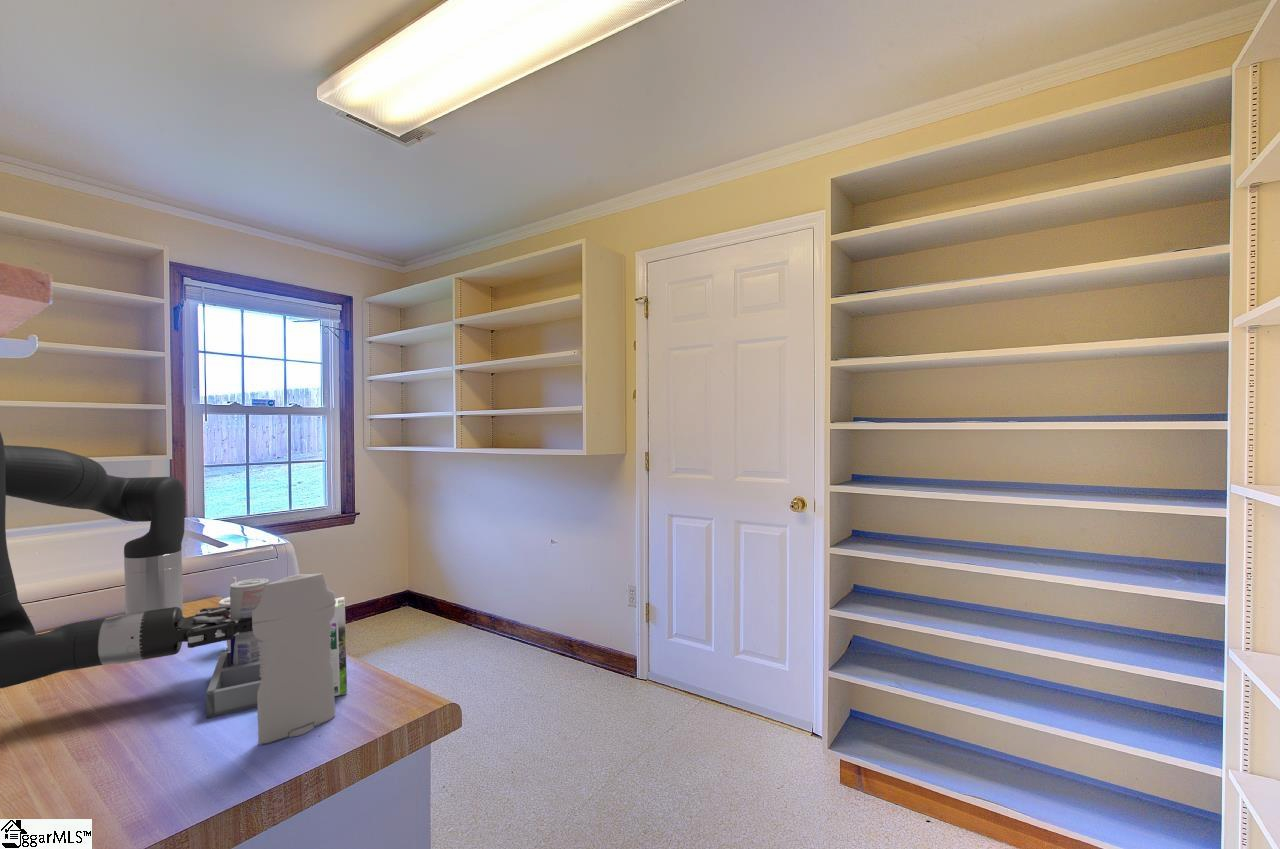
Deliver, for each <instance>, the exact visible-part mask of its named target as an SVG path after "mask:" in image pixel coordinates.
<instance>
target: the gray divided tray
mask: <svg viewBox="0 0 1280 849" xmlns="http://www.w3.org/2000/svg"><path fill="white" fill-rule="evenodd" d="M259 662H260V661H258V662H253V663H247V664H242V665H237V666H232V667H231V651H228V650H227V651H223V652H222V651H221V652H220V654H219V657H218V659H217V662H216V665H215V667H214V671H213V673H212V676H211V679H210V681H209V685H208V687H207V690H206V693H205V701H206V702H205V710H206V711H205V712H206V714H205V715H206V716H205V718H206V719H210V718H213V717H219V716H223V715H228V714H231V713H235V712H236V713H237V712H240V711H245V710H249V709H254V708H258V705H257V692H258V689H259V686H260V682H261V677H260V676H259V675H260V674H261V673H259V672H260V670H259V669H260V668H261V667H260V664H259Z"/></svg>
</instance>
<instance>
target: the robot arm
mask: <svg viewBox="0 0 1280 849" xmlns="http://www.w3.org/2000/svg"><path fill="white" fill-rule="evenodd" d="M7 497H13V498H18V499H22V500H27V501H31V502H36V503H41V504H45V505H51V506H54V507H55V506H56V507H61V508H62V507H63V508H70V509H79V510H89V511H90V510H91V511H95V512H97V513H101V514H104V515H106V516H109V517H112V518H115V519H118V520H121V521H125V522H132V523H133V522H134V523H137V522H150V526H149V531H148V532H146V533H145V534H144V535H143V536H140V537H138V538H135V539H132V540H129V541H127V542H126V543H125V544H124V547H123V557H124V558H123V560H124V561H123V564H124V565H123V567H124V600H125V602H124V603H125V610H124V611H125V613H123V614H120V615H116V616H115V615H114V616H110V617H106V618H105V617H104V618H96V619H91V620H90V619H89V620H83V621H77V622H72V623H68V624H64V625H61V626H58V627H57V628H55V629H53V630H50V631H47V632H43V633H37V634H36V630H35V627H34V626H33V625H34V624H33V623H32V621H31V619H30V617H29V616H28V614H27V612H26V610H25V608H24V607H23V605H22V604H21V602H20V600H19V598H18V590H17V585H16V581H15V576H14V574H13V573H14V572H13V568H12V564H11V561H10V556H9V550H8V544H7V534H6V532H7V531H6V507H7V506H6V505H7V504H6V500H7ZM185 518H186V490H185V487H184V485H183V483H182V481H180V479H178V478H176V477H173V476H148V477H145V476H144V477H122V476H115V475H111V474H107V471H106V469H105V468H104V467H103V466H102V465H101V464H100V463H99V462H97V461H96V460H93V459H92V458H89V457H86V456H83V455H81V454H76V453H73V452H70V451H66V450H63V449H58V448H50V447H41V446H38V447H37V446H30V445H28V446H26V445H11V444H10V445H9V444H8V445H6V444H4V439H3V436H2V432H0V689H4V688H5V689H6V688H9V687H10V688H11V687H12V686H17V685H21V684H24V683H28V682H32V681H36V680H39V679H41V678H46V677H48V676H52V675H54V674H57V673H63V672H65V671H66V672H67V671H75V670H82V669H86V668H94V667H98V666H100V667H101V666H105V665H119V664H127V663H133V662H137V661H145V660H152V659H156V658H162V657H169V656H174V655H177V654H178V653H179V652H180V651H181V648H182V645H183V642H184V643H185V642H187V648H189V649H192V648H198V647H201V646H207V645H211V644H215V643H220V642H224V641H226V640H231V639H233V638H234V636H236V635H239V634H240V632H241V633H242V632H248V631H253V629H252V617H248V618H241V619H230V617H229V615H230V606H227V607H209V608H208V607H207V608H201V609H199V612H196V613H195V615H191V616H187V617H184V596H183V594H184V593H183V562H182V561H183V558H182V557H183V556H182V555H183V554H182V546H183V545H182V542H183V539H184V535H185V521H186V520H185ZM226 642H227V641H226Z"/></svg>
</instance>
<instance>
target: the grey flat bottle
mask: <svg viewBox="0 0 1280 849" xmlns="http://www.w3.org/2000/svg"><path fill="white" fill-rule="evenodd" d="M327 584H328V583H327V581H326V577H325V573H324V572H322V573H321V572H320V573H319V572H318V573H309V574H308V573H306V574H305V573H301V574H299V573H298V574H294V575H288V576H286V577H284V578H281V579H278V580H276V581H273V582H268V584H265V585H264V587H263V593H262V597H261V600H260V604H259V605H258V606H257V607H256V608H255V609H254V610H253V611H252V629H253V635H254V636H255V637H256V638H258V639H259V640H260V641H259V642H258V643H257V645H258V647H260V648H259V649H258V651H260V652H259V654H260V656H259V658H260V660H259V661H260V662H259V664H260V667H261V668H260V669H259V670H260V672H259V673H261V674H260V675H259V676H260V677H261V682H260V686H259V689H258V692H257V705H258V707H257V735H258V736H257V737H258V739H257V740H258V741H257V743H258V745H259V746H264V745H270V744H272V743H276V742H279V741H282V740H284V739H288V738H292V737H298V736H302V735H304V734H306V733H308V732H310V731H312V730H313V729H314V728H317V727H319V726H322V725H323V724H325V723H328V722H330V721H331V720H333V719H334V718H335V717H336V716H335V714H336V712H335V711H336V710H335V707H336V706H335V696H334V668H333V665H332V663H331V660H330V656H331V654H330V653H331V651H330V650H331V648H330V647H331V645H330V644H331V643H330V642H331V640H330V639H331V637H330V635H331V633H330V632H331V630H330V629H331V628H332V624H330V621H331V620H332V618H333V616H334V614H335V599H336V592H335V591H333V590H331V589H329V587H328V585H327Z"/></svg>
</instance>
